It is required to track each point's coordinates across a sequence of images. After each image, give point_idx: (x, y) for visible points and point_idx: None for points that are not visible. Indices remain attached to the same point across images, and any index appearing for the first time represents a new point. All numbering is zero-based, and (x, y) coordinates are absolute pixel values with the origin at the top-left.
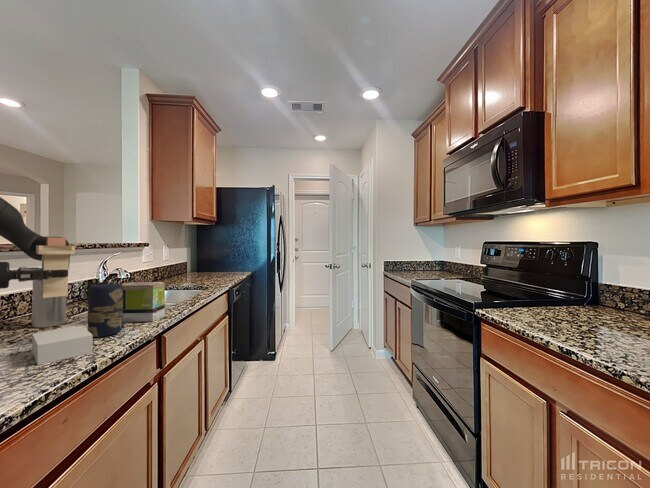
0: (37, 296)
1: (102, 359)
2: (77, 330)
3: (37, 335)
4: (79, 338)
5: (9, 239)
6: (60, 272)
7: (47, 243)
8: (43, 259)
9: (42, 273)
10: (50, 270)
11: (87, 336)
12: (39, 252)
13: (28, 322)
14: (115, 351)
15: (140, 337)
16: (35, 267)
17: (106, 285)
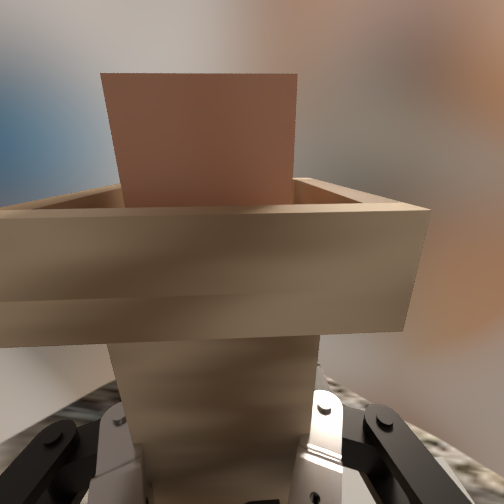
0: None
1: (496, 475)
2: (360, 490)
3: None
4: (469, 498)
5: None
6: (318, 365)
7: (271, 168)
8: (265, 357)
9: (215, 464)
10: (331, 396)
11: (452, 472)
12: (405, 306)
13: None
14: (430, 438)
15: (331, 379)
16: (101, 488)
17: None
